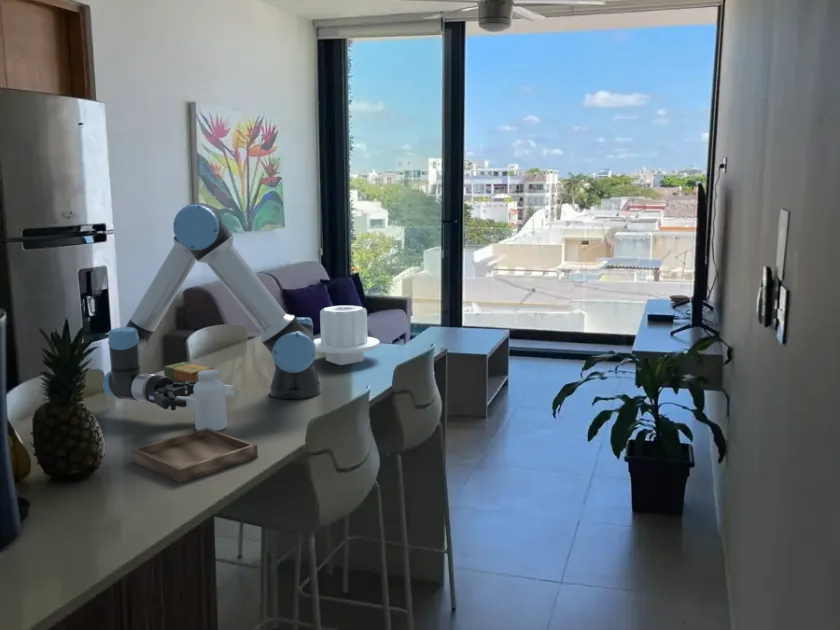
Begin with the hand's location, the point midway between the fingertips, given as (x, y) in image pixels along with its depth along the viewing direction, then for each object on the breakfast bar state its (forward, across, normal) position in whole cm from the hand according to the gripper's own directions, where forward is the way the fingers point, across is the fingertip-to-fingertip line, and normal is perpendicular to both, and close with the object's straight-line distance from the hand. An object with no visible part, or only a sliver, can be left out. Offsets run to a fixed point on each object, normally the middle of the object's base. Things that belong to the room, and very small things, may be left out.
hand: (216, 397), depth 195 cm
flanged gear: (-10, -80, -9) cm, 81 cm away
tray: (+10, +20, -8) cm, 24 cm away
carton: (-45, -38, -9) cm, 60 cm away
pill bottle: (-2, 0, -9) cm, 9 cm away
